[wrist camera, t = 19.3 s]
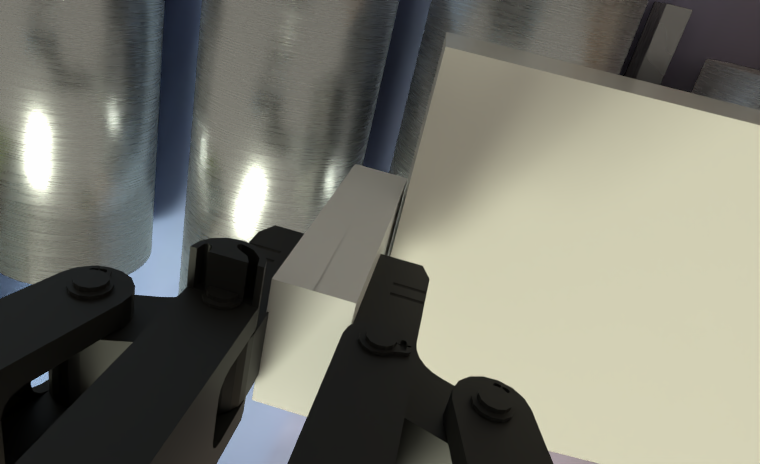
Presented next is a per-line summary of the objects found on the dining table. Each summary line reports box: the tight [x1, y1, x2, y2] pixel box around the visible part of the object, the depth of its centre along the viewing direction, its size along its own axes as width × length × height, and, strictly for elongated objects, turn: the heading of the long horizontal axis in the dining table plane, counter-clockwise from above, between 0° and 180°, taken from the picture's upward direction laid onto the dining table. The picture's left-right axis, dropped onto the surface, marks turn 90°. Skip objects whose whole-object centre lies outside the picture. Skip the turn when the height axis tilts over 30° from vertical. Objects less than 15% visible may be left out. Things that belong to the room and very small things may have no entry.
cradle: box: [625, 2, 693, 85], centre depth 21 cm, size 14×9×2 cm, turn 167°
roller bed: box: [0, 0, 649, 295], centre depth 20 cm, size 14×21×6 cm, turn 77°
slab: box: [388, 32, 760, 464], centre depth 16 cm, size 10×16×3 cm, turn 77°
